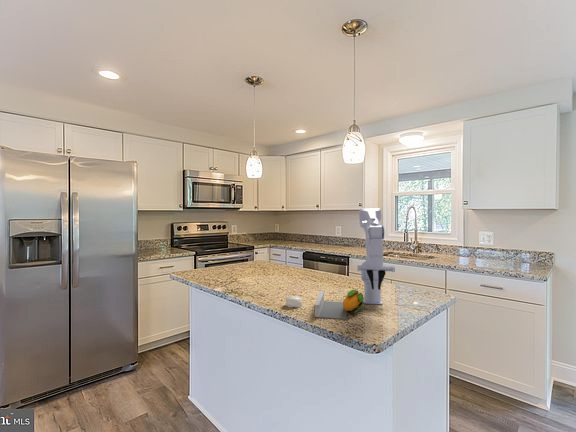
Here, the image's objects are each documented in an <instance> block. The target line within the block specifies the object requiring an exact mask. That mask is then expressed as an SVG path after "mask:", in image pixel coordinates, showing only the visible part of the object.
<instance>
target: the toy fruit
mask: <svg viewBox="0 0 576 432" xmlns="http://www.w3.org/2000/svg"><path fill="white" fill-rule="evenodd" d="M363 300H364V293H362V292H359V290H356V289H351V290H349V291H348V292H347V295H346V296H345V298H344V300H343V301H342V302H343V308H344V309H345V310H346V311H347V312H351V311H353V310H355V309H356V310H355V311H354V313H356V312H358V311H359V310H360V309H361V308H362V307H363V304H364V302H363Z"/></svg>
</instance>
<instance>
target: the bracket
mask: <svg viewBox="0 0 576 432" xmlns="http://www.w3.org/2000/svg"><path fill="white" fill-rule="evenodd" d="M314 318H315V319H316V318H317V319H329V320H330V319H332V320H344V321H345V320H348V319H347V318H348V311H346V310H345V309H344V308H343V301H333V300H332V301H331V300H328V301H327V300H325V290H320V291H319V293H318V295H317V297H316V300H315V303H314Z"/></svg>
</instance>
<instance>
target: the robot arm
mask: <svg viewBox="0 0 576 432" xmlns="http://www.w3.org/2000/svg"><path fill="white" fill-rule="evenodd" d="M358 213H359V214H358V215H359V217H358V218H359V225H360V226H359V227H361V228H362V229H363V231H364V234H365V248H366V249H365V250H366V251H365V252H366V260H365V261H363V262H362V263H361V265H357V272H360V280H361V281H362V282H363V287H364V288H363V290H364V291H363V292H364V293H363V297H364V300H363V304H365V305H366V304H368V305H369V304H370V305H383V301H382V296H381V294H382V293H381V292H382V290H381V289H382V287H381V286H382V284H383V282H384V280H385V276H386V275H387V274H386V273H387V272H392V273H395V272H396V267H395V266H394V265H384V239H385V226H384V225H381V220H382V210H381V208H380V207H378V208H374V207H372V208H369V207H368V208H362V207H360V208H359V210H358Z"/></svg>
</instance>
